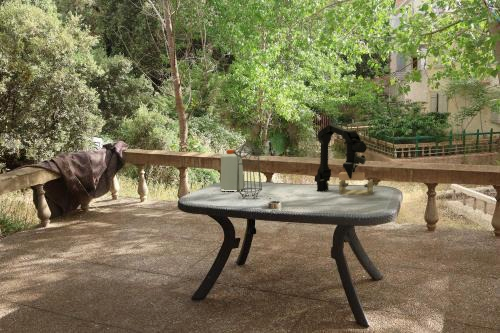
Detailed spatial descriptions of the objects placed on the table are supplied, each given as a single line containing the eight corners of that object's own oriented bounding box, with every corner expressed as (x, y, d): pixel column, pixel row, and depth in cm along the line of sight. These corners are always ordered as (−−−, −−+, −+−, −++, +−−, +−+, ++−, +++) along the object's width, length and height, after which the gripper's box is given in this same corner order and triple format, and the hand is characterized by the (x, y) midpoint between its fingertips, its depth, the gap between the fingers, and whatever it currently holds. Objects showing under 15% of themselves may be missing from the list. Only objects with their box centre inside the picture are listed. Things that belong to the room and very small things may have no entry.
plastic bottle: (240, 192, 310) (238, 150, 306) (218, 192, 314) (216, 151, 310) (246, 188, 324) (244, 148, 320) (226, 188, 328) (224, 149, 325)
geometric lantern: (233, 199, 287) (230, 143, 284) (244, 195, 301) (241, 141, 298) (256, 200, 280) (253, 142, 277) (266, 195, 295) (264, 141, 291)
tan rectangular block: (339, 180, 275) (338, 173, 275) (341, 178, 280) (341, 172, 280) (362, 180, 269) (362, 173, 269) (364, 179, 275) (364, 172, 274)
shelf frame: (339, 194, 286) (339, 181, 285) (343, 190, 297) (343, 178, 296) (369, 195, 279) (369, 182, 278) (372, 191, 290) (372, 179, 289)
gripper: (361, 153, 261) (362, 180, 263) (367, 150, 278) (368, 175, 280) (342, 153, 266) (342, 180, 268) (349, 150, 283) (349, 175, 284)
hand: (351, 177), depth 275 cm, fingers closed on tan rectangular block, 6 cm apart
